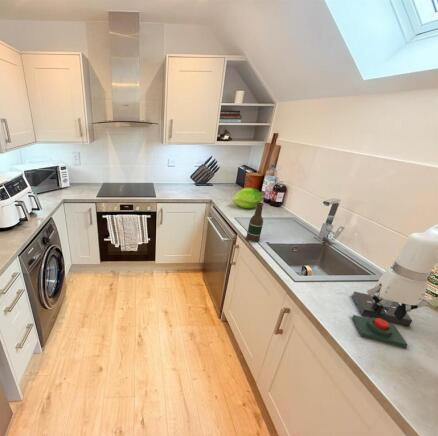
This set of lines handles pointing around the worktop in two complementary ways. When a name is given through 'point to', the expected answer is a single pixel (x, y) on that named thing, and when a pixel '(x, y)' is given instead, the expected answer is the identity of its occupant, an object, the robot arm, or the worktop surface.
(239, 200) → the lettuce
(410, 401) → the worktop surface
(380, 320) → the power button
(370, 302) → the panel
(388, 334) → the green device base
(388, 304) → the hob knob
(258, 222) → the beer bottle
